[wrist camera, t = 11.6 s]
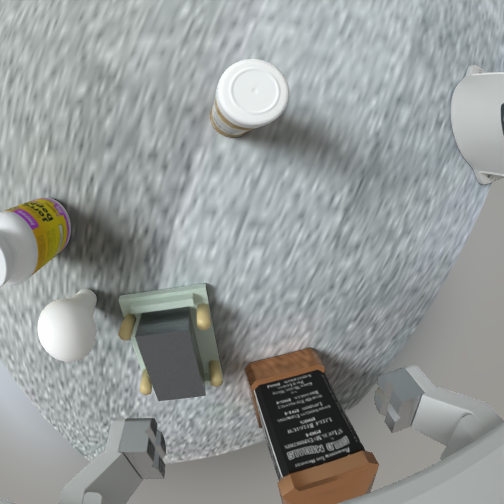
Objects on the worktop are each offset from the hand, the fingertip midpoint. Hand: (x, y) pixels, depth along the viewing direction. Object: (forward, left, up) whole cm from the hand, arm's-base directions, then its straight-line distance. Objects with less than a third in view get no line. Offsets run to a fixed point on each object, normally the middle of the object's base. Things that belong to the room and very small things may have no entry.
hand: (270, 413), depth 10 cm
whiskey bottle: (-6, +22, -25) cm, 34 cm away
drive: (+7, +12, -24) cm, 28 cm away
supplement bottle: (+19, -4, -25) cm, 32 cm away
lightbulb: (+16, +5, -25) cm, 30 cm away
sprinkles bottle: (-3, -12, -25) cm, 28 cm away
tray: (+7, +12, -25) cm, 29 cm away
